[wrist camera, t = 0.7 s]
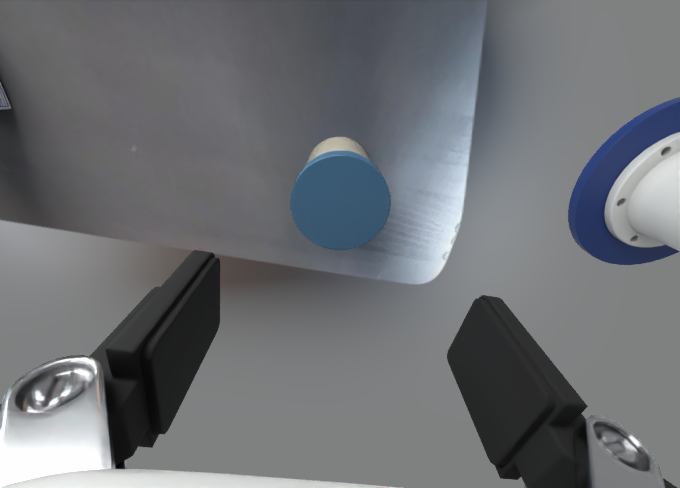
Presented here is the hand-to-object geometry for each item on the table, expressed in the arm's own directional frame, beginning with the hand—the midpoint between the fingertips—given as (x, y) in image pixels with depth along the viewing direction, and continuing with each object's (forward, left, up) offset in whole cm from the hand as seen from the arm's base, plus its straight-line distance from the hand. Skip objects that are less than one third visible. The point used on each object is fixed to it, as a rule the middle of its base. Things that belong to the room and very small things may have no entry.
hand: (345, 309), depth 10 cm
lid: (0, 0, -11) cm, 11 cm away
